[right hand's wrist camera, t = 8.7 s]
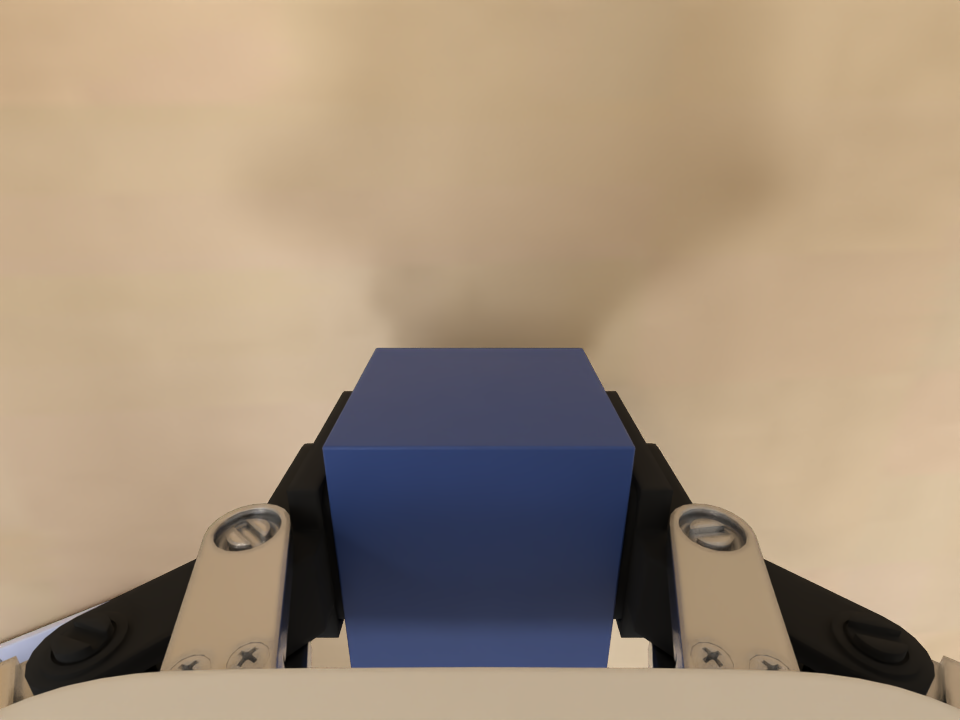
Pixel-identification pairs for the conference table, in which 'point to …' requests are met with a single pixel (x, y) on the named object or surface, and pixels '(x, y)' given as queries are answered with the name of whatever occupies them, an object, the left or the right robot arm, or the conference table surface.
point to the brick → (478, 509)
